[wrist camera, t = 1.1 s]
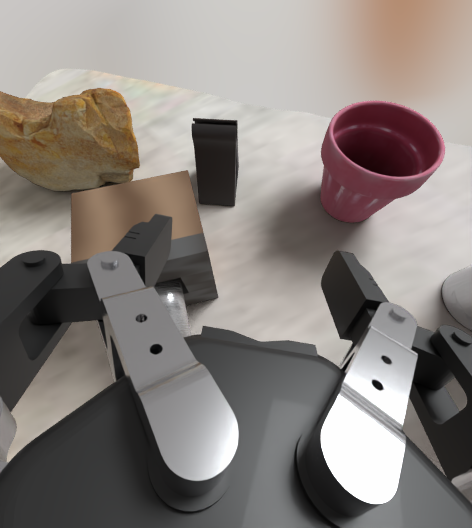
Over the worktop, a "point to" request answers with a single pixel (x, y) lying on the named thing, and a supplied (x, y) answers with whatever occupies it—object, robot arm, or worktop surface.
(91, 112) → the rough brown rock
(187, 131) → the worktop surface
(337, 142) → the plant pot
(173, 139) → the worktop surface
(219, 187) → the phone stand
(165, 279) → the housing
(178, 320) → the peg
